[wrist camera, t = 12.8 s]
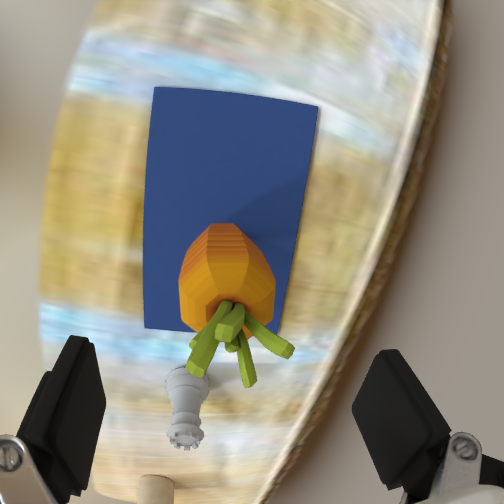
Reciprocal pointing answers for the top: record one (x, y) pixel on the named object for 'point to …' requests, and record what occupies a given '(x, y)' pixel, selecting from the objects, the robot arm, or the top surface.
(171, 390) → the rook chess piece
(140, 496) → the candle
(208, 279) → the carrot
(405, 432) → the robot arm
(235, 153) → the napkin
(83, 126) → the top surface
